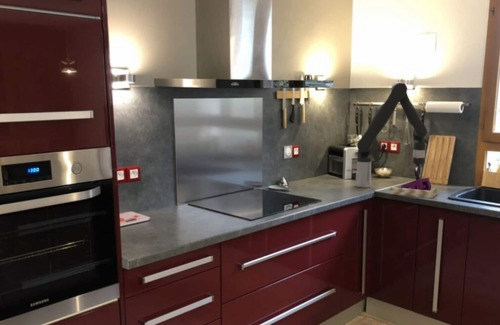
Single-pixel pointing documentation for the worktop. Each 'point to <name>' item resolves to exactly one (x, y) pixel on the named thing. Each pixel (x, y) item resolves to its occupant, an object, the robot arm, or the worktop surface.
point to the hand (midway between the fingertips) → (417, 182)
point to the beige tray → (414, 192)
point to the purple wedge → (418, 184)
